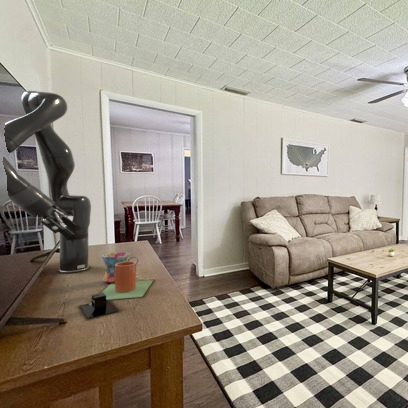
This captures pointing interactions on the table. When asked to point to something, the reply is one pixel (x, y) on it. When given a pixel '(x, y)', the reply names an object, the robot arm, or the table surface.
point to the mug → (110, 264)
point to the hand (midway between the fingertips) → (72, 231)
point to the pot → (125, 277)
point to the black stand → (98, 306)
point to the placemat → (138, 292)
